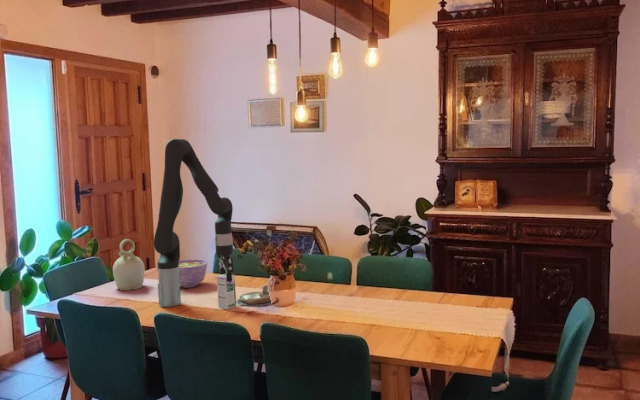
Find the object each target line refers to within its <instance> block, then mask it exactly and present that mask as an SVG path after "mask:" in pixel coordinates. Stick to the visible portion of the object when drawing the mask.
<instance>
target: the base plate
mask: <svg viewBox="0 0 640 400" xmlns="http://www.w3.org/2000/svg"><path fill="white" fill-rule="evenodd" d="M237 304H238V305H237V306H238V307H242V306H244V307H263V306H269V304H270V305H272V304H271V302H268V303H262V304H246V303H242V302H240V298H238V299H237Z"/></svg>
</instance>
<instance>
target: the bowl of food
mask: <svg viewBox="0 0 640 400" xmlns="http://www.w3.org/2000/svg"><path fill="white" fill-rule="evenodd" d="M207 268H208V261H207V260H205V259H199V258H198V259H196V258H195V259H193V258H191V259H180V260H179V279H180V288H194V287H196V286H197V285H199V284H201V283H202V282H203V281H204V279H205V278H206V273H207Z"/></svg>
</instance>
